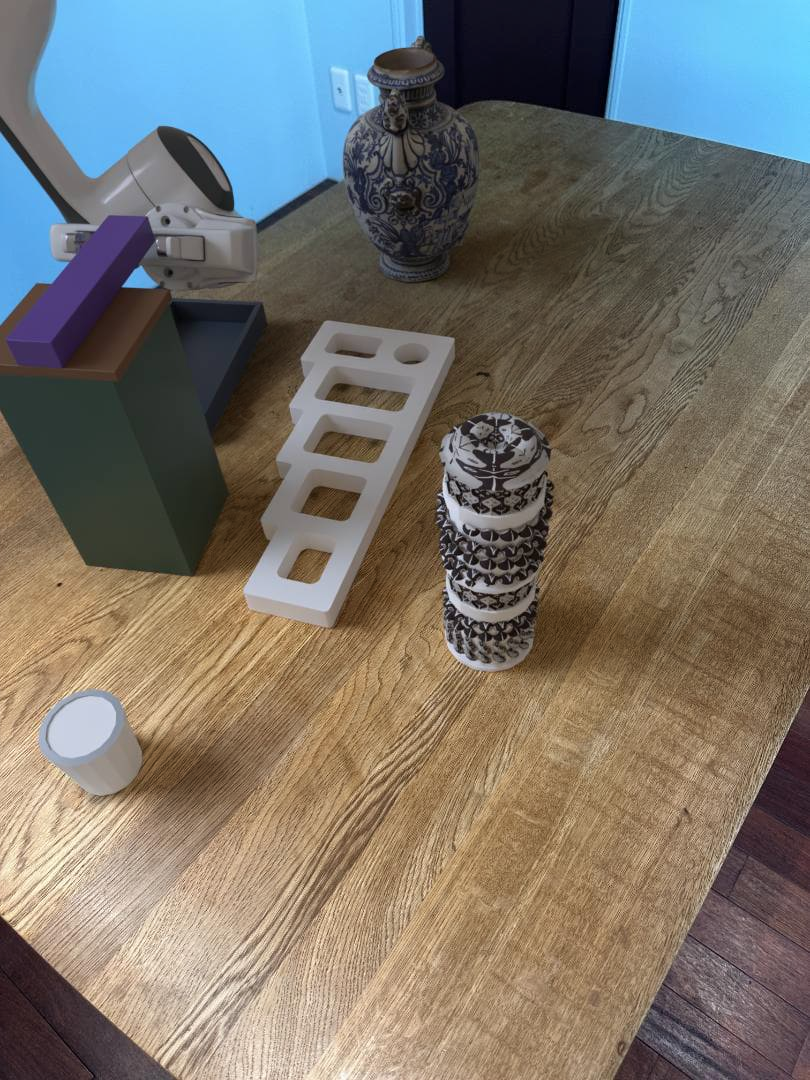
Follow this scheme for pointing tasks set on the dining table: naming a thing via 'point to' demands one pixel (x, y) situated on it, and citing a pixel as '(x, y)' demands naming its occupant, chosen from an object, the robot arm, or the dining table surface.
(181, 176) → the robot arm
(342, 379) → the holder
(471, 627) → the decorative candle
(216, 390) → the tray
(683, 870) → the dining table surface
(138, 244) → the purple bar
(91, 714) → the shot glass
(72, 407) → the brown-capped green pillar
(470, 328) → the dining table surface
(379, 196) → the decorative vase
